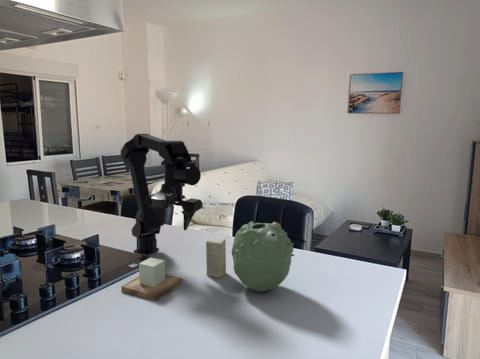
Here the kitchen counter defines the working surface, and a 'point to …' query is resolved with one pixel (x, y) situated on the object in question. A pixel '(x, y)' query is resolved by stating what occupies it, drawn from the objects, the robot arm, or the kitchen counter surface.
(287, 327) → the kitchen counter surface
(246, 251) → the green bumpy vase
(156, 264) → the block
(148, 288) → the plinth
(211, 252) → the box
